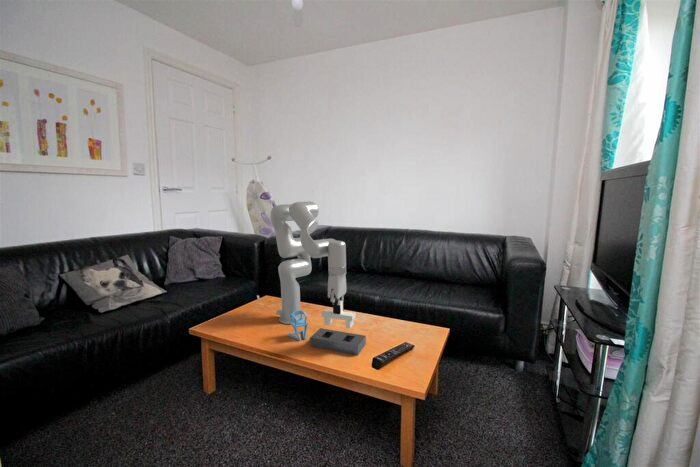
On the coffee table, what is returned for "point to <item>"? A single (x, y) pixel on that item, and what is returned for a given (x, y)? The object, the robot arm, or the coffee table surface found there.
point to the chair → (298, 325)
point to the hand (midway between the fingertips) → (338, 311)
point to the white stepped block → (339, 316)
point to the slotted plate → (338, 341)
